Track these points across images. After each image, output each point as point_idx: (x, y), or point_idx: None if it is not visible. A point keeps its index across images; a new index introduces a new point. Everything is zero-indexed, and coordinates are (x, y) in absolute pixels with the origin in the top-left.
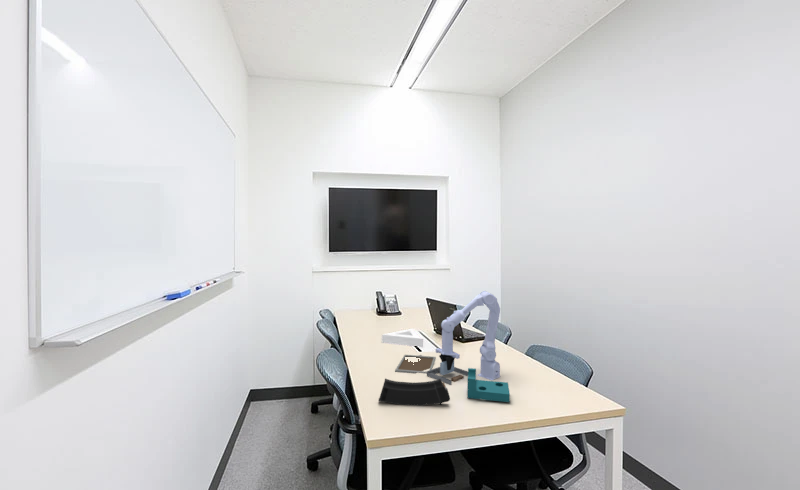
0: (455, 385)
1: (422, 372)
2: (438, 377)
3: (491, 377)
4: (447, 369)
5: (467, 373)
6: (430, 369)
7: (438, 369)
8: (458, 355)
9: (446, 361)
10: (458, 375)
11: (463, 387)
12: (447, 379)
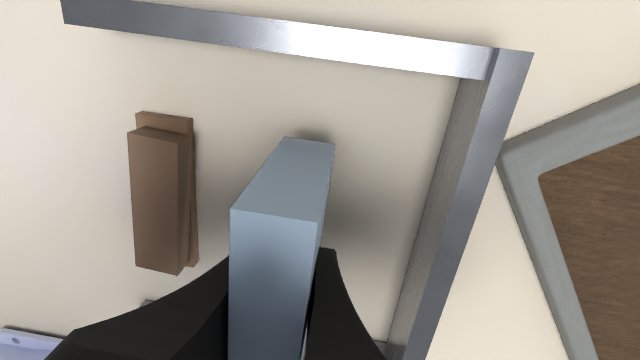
0: (91, 60)
1: (613, 106)
2: (281, 21)
3: (2, 356)
4: None
5: None
6: (547, 246)
7: (429, 252)
8: None
9: (265, 340)
10: (172, 245)
11: (9, 70)
12: (118, 11)
